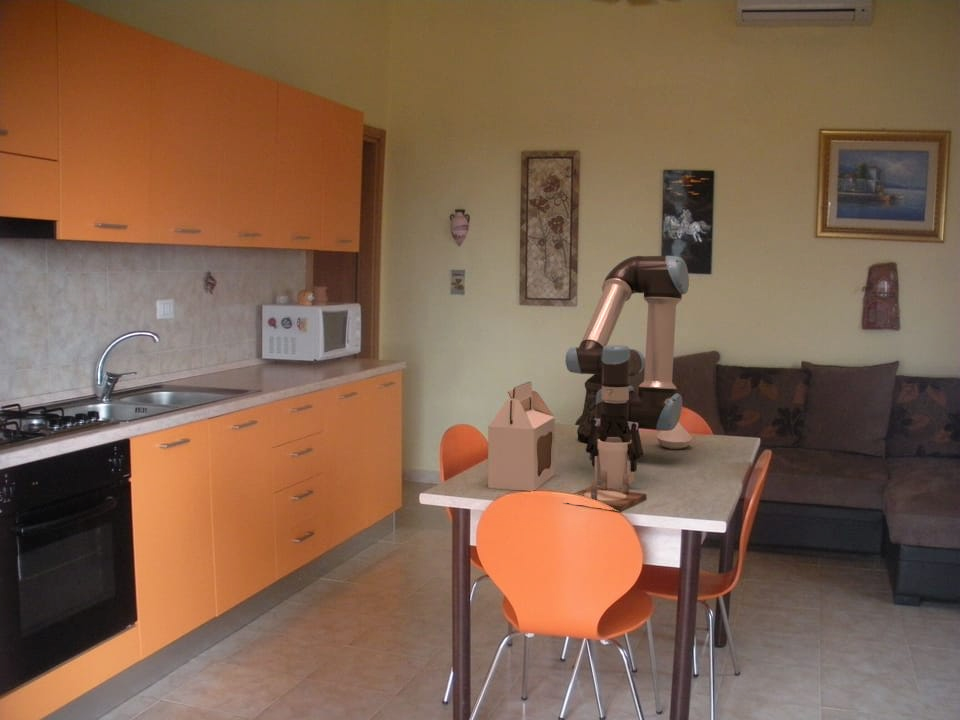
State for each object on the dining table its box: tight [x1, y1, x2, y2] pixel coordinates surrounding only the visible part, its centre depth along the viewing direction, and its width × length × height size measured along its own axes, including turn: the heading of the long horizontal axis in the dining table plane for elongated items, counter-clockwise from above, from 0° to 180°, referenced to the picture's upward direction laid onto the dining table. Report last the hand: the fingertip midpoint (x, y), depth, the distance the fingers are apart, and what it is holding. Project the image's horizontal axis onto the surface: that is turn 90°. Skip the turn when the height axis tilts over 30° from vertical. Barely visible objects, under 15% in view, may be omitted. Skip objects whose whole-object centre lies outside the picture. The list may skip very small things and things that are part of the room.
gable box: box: [487, 381, 556, 491], centre depth 268 cm, size 22×13×28 cm, turn 160°
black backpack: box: [576, 374, 602, 445], centre depth 332 cm, size 16×19×25 cm
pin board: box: [572, 471, 647, 513], centre depth 246 cm, size 16×16×6 cm
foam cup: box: [597, 437, 631, 490], centre depth 263 cm, size 10×9×13 cm
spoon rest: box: [656, 421, 693, 450], centre depth 326 cm, size 24×12×7 cm, turn 170°
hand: (613, 480), depth 264 cm, fingers closed on foam cup, 9 cm apart
